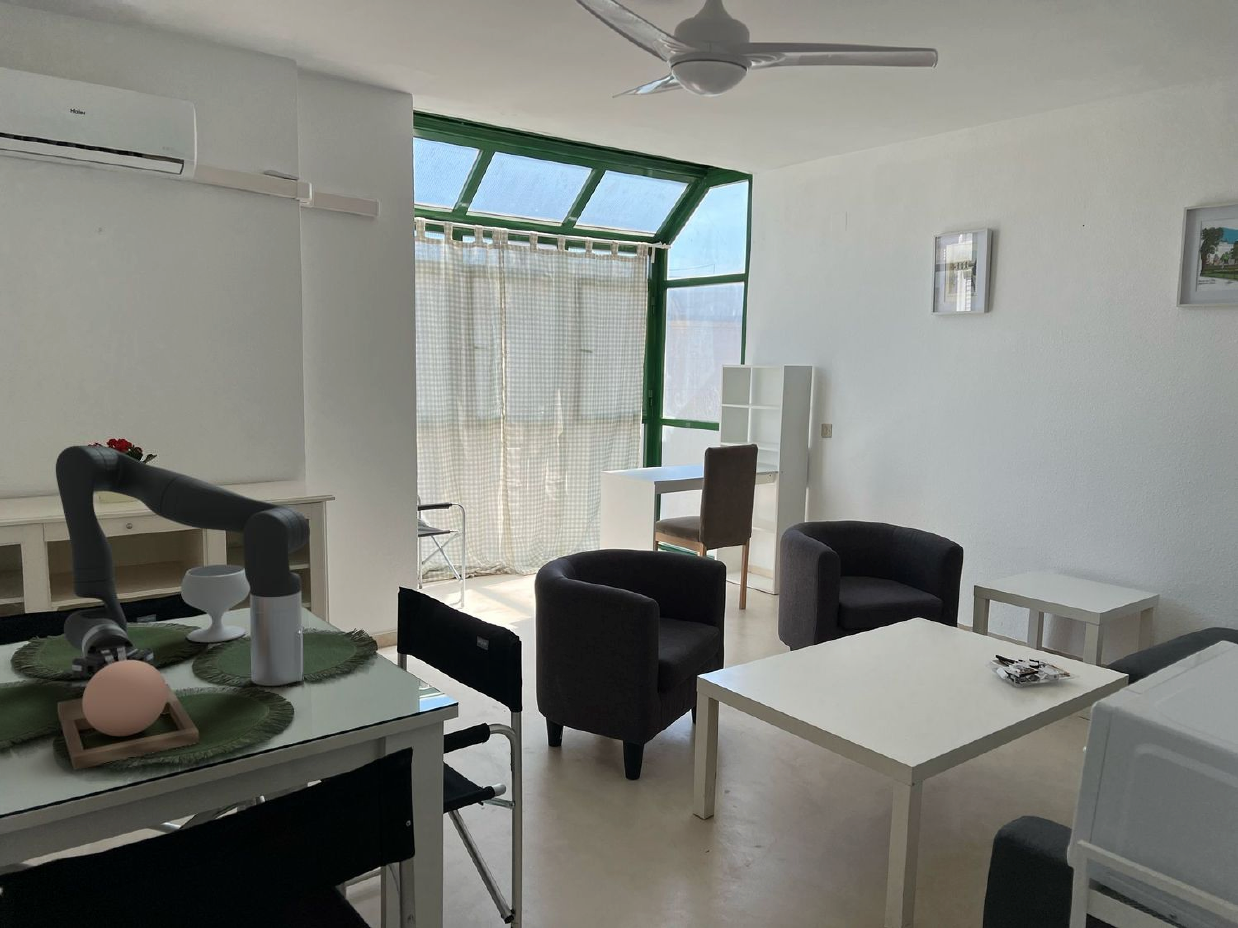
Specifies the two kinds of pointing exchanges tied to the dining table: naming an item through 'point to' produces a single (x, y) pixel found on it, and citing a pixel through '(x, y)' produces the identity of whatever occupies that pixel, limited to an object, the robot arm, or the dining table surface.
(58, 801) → the dining table surface
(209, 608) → the chalice
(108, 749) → the wooden rectangular frame
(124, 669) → the ball
